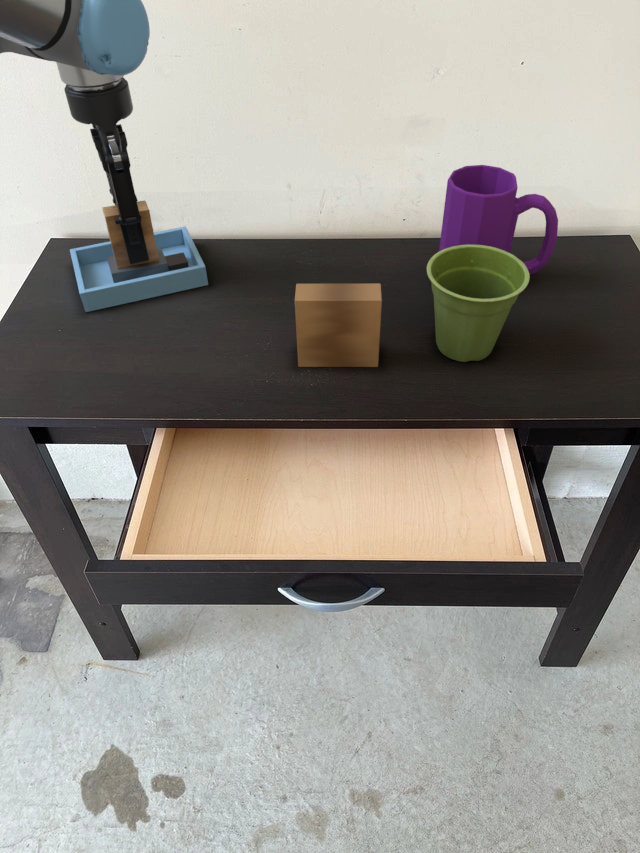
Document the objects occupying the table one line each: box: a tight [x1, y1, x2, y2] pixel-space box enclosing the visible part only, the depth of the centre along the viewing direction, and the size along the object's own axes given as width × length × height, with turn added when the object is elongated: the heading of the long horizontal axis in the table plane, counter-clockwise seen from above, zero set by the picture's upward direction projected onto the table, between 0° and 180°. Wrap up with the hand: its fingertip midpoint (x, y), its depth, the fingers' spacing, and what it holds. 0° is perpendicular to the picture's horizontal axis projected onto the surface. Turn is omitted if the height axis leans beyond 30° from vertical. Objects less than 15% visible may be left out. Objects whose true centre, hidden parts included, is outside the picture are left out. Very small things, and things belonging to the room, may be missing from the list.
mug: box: [438, 164, 559, 275], centre depth 90 cm, size 9×16×15 cm, turn 82°
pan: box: [69, 225, 209, 313], centre depth 97 cm, size 18×13×3 cm
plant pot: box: [426, 245, 531, 363], centre depth 81 cm, size 12×12×11 cm
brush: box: [101, 200, 169, 283], centre depth 94 cm, size 8×5×10 cm, turn 111°
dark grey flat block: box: [165, 252, 189, 271], centre depth 99 cm, size 3×3×1 cm
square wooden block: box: [294, 282, 383, 368], centre depth 80 cm, size 10×4×10 cm, turn 89°
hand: (137, 254), depth 96 cm, fingers closed on brush, 3 cm apart
